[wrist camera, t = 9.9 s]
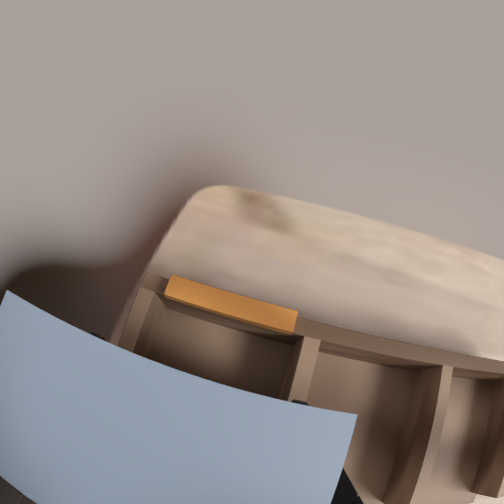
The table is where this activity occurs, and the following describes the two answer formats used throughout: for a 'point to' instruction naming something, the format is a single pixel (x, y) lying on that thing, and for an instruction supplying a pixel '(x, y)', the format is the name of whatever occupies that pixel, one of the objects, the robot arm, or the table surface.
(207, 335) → the rack
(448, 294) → the table surface
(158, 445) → the blanking panel
